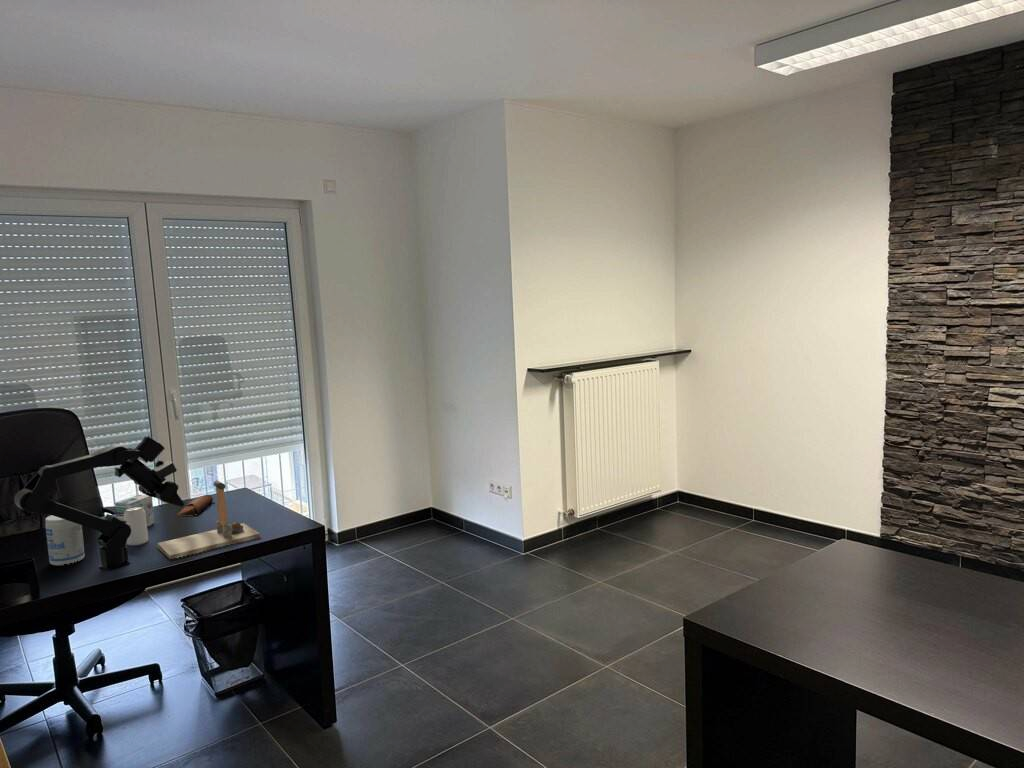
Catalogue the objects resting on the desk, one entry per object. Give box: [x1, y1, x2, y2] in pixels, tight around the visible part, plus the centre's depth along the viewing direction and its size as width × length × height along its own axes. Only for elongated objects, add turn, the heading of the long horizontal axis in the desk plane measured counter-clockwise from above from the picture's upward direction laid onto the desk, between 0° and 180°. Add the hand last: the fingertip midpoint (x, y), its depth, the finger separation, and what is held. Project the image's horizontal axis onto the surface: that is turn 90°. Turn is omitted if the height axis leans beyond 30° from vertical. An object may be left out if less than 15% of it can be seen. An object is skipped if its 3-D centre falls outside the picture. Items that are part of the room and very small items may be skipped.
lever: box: [213, 480, 229, 525], centre depth 238 cm, size 2×6×14 cm, turn 39°
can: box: [124, 506, 149, 547], centre depth 239 cm, size 6×6×12 cm
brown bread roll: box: [177, 494, 214, 516], centre depth 277 cm, size 18×7×7 cm, turn 6°
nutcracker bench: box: [157, 520, 261, 560], centre depth 236 cm, size 28×16×6 cm, turn 129°
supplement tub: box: [45, 515, 86, 566], centre depth 225 cm, size 10×10×15 cm
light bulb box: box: [114, 494, 155, 527], centre depth 257 cm, size 11×7×11 cm, turn 161°
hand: (177, 503), depth 232 cm, fingers open, 9 cm apart
